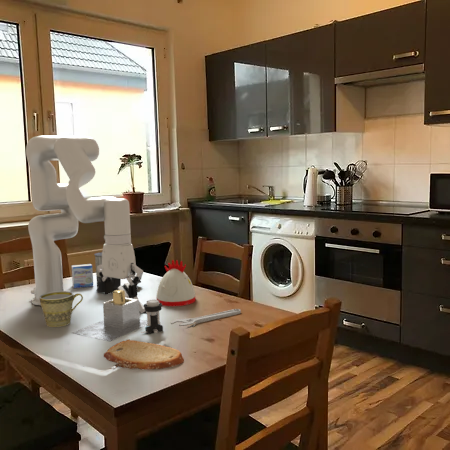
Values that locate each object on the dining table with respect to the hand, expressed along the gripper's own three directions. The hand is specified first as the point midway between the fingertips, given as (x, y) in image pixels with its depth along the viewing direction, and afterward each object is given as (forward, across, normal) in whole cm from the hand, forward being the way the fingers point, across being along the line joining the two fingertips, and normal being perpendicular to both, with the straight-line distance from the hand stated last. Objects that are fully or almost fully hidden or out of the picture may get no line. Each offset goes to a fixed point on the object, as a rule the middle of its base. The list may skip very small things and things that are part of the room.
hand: (120, 295), depth 157 cm
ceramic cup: (+10, -17, -8) cm, 21 cm away
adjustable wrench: (+10, +20, +17) cm, 29 cm away
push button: (+10, +13, -2) cm, 17 cm away
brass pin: (+9, 0, 0) cm, 9 cm away
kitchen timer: (+10, -2, +31) cm, 33 cm away
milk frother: (+10, -32, +34) cm, 48 cm away
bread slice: (+10, +22, -17) cm, 29 cm away
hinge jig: (+10, 0, -4) cm, 11 cm away
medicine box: (+10, -49, +32) cm, 59 cm away
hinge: (+10, -9, +16) cm, 21 cm away
